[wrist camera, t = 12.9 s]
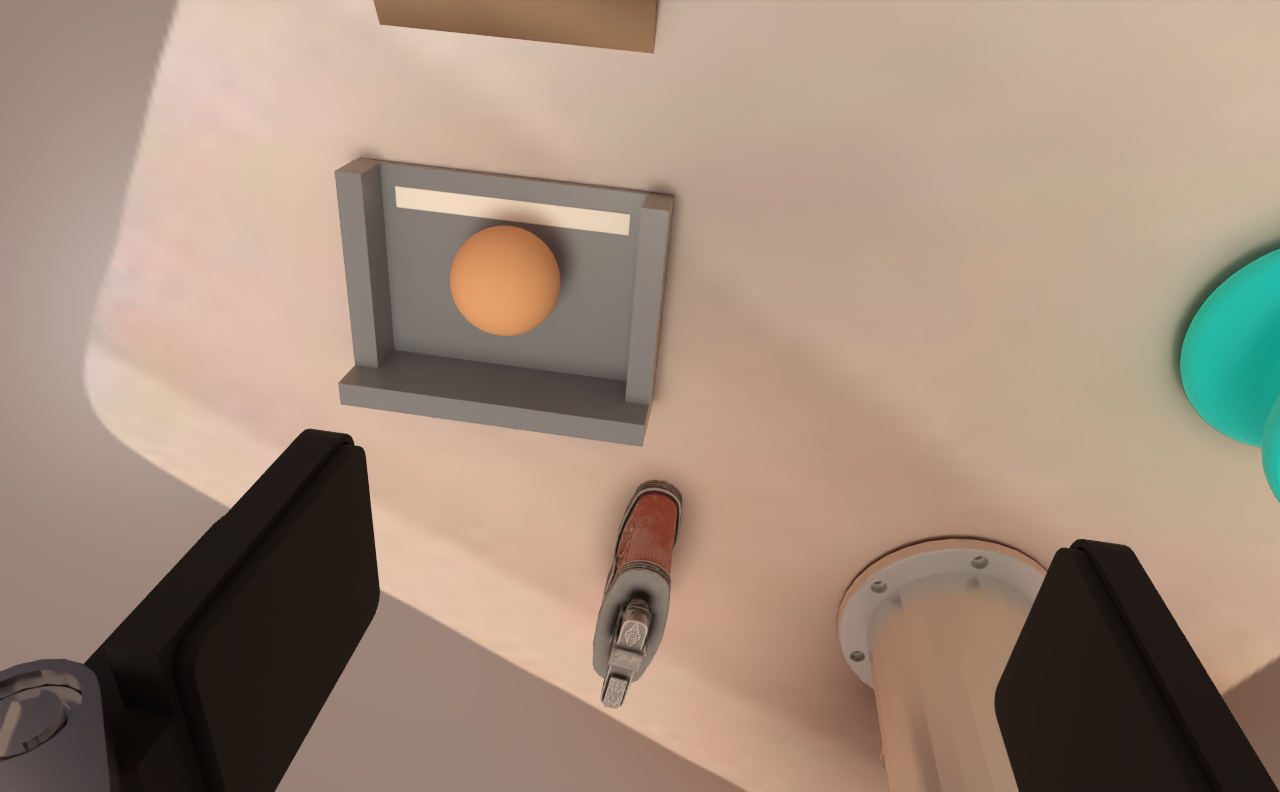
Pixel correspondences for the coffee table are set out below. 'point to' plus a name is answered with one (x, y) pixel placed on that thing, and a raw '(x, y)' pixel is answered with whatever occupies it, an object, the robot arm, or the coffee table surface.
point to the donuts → (1240, 360)
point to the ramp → (534, 20)
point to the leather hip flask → (637, 590)
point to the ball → (505, 280)
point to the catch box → (492, 364)
